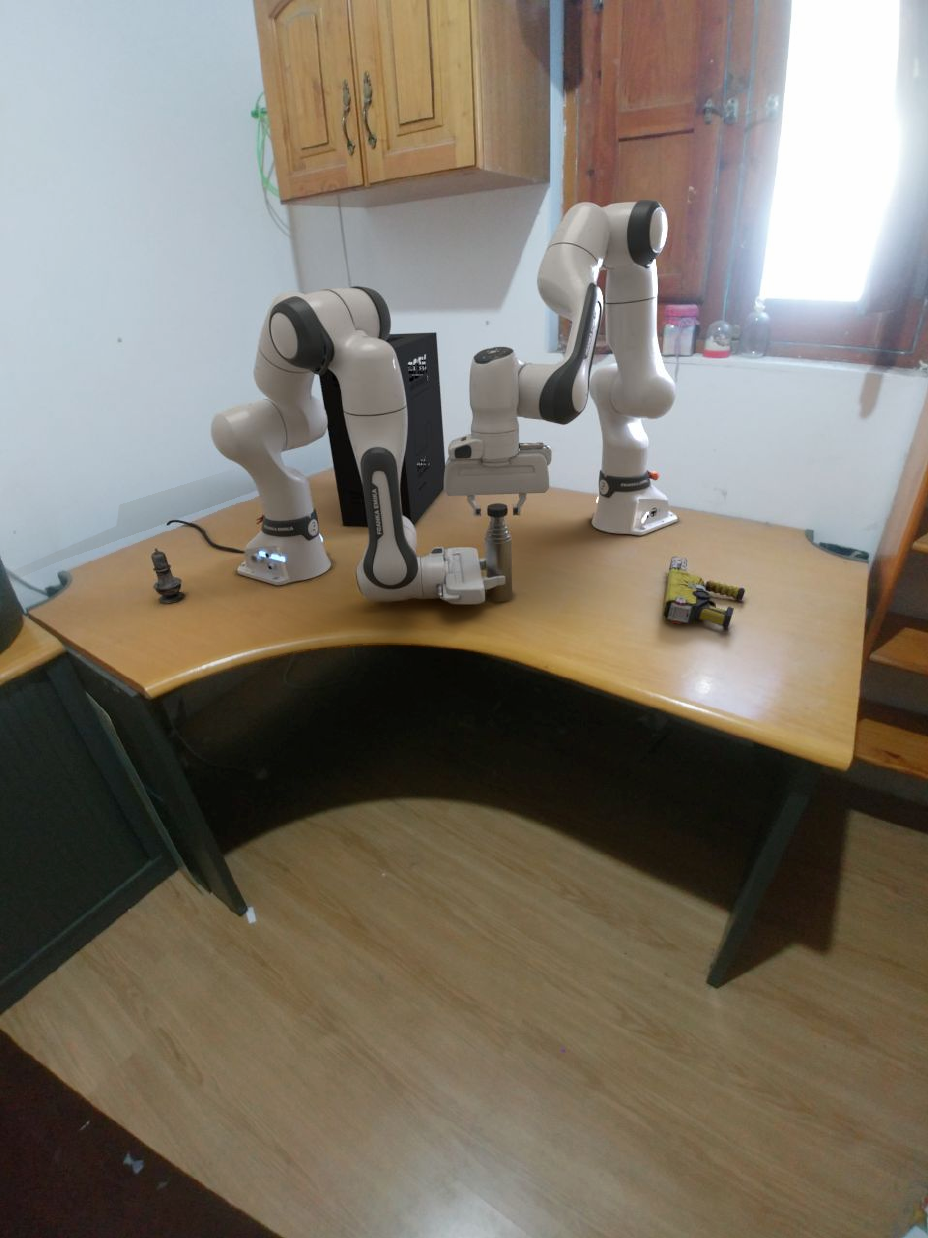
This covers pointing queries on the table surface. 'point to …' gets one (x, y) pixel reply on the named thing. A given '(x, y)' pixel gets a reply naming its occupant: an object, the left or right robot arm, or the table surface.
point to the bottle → (499, 558)
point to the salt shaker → (166, 579)
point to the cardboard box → (422, 433)
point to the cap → (497, 510)
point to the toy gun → (695, 597)
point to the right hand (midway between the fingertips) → (497, 514)
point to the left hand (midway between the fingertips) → (503, 572)
